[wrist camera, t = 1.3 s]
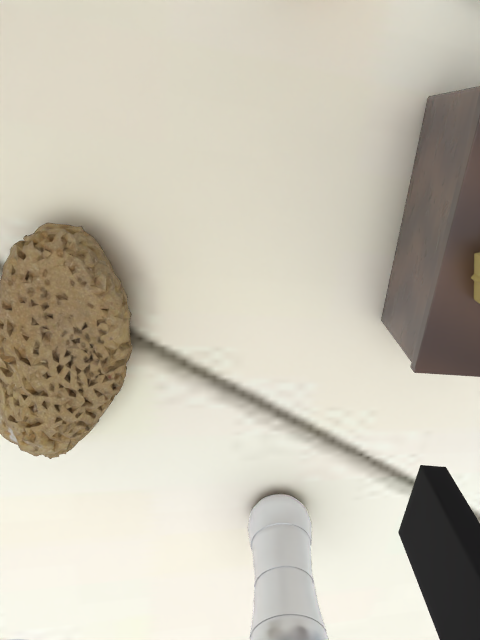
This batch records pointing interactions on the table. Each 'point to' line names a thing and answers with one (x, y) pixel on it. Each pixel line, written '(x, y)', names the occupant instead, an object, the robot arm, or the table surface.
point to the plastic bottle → (283, 572)
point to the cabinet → (440, 243)
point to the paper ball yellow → (476, 277)
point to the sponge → (59, 339)
